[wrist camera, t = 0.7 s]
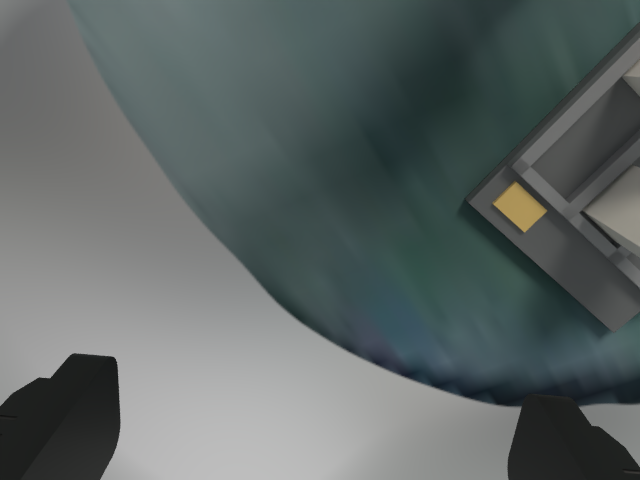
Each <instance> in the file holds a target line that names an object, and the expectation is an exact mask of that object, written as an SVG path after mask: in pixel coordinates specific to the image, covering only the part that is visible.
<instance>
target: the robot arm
mask: <svg viewBox="0 0 640 480" xmlns="http://www.w3.org/2000/svg"><path fill="white" fill-rule="evenodd" d="M119 432H120V404H119V384H118V367H117V362H116V359H115V358H114V357H111V356H99V355H87V354H76V353H74V354H72V355H70V356H69V357H68V358H67V359H66V361H65V362H64V363H63V364H62V365H61V366H60V368H59V369H58V370H57V371H56V372H55V373H54V375H53V376H52V377H51V378H37V379H36V380H34V381H33V382H31V383H29V384H27V385H26V386H24V387H22V388H21V389H19V390H17V391H16V392H14V393H13V394H12V395H10V396H9V398H8V399H7V400H6V401H5V402H4V403H3V404H2V405H1V406H0V480H100V479H101V477H102V475H103V473H104V471H105V469H106V468H107V466H108V464H109V462H110V460H111V458H112V456H113V454H114V451H115V449H116V446H117V442H118V438H119ZM508 478H509V480H640V467H639V466H638V464H637V463H636V462H635V460H634V459H633V458H632V456H631V455H630V454H629V452H628V451H627V450H626V448H625V447H624V446H623V445H621V444H620V443H619V442H618V441H616V440H615V439H614V438H613V437H611V436H610V435H609V434H608V433H606V432H605V431H604V430H603V429H602V428H600V427H597V426H591V424H590V423H589V421H588V420H587V419H586V417H585V416H584V414H583V413H582V411H581V410H580V408H579V407H578V406H577V404H576V403H575V402H574V400H573V399H571V398H569V397H561V396H550V395H538V394H529V395H527V396H526V398H525V399H524V402H523V405H522V408H521V412H520V416H519V419H518V423H517V427H516V431H515V435H514V438H513V442H512V445H511V449H510V453H509V457H508Z"/></svg>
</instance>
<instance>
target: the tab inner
mask: <svg viewBox="0 0 640 480" xmlns="http://www.w3.org/2000/svg"><path fill="white" fill-rule="evenodd" d="M621 77H622V78H623V79H624V80H625V81H626V82H627V83H628V85H629V86H630V87H631V88H632V89H633V90H634V91H635V92H636V93H637V94H638V95H639V96H640V59H639V60H638V61H637V62H636V63H635V64H634V65H633V66H632V67H631V68H630V69H629V70H628V71H626V72H625V73H624V74H623V75H622V76H621Z"/></svg>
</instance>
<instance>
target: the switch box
mask: <svg viewBox="0 0 640 480" xmlns="http://www.w3.org/2000/svg"><path fill="white" fill-rule="evenodd" d="M639 59H640V22H639V23H638V24H637V25H636V26H635V27H634V28H633V29H632V30H631V31H630V32H629V33H628V34H627V35H626V36H625V37H624V38H623V39H622V40H621V41H620V42H619V43H618V44H617V45H616V46H615V47H614V48H613V49H612V50H611V51H610V52H609V53H608V54H607V55H606V56H605V57H604V58H603V59H602V60H601V61H600V62H599V63H598V64H597V65H596V66H595V67H594V68H593V70H592V71H591V72H590V73H589V74H588V75H587V76H586V77H585V78H584V79H583V80H582V81H581V82H580V83H579V84H578V85H577V86H576V87H575V88H574V89H573V90H572V91H571V92H570V93H569V94H568V95H567V96H566V97H565V98H564V99H563V100H562V101H561V102H560V103H559V104H558V105H557V106H556V107H555V108H554V109H553V110H552V111H551V112H550V113H549V114H548V115H547V116H546V117H545V118H544V119H543V120H542V121H541V122H540V123H539V124H538V125H537V126H536V127H535V128H534V129H533V130H532V131H531V132H530V133H529V134H528V135H527V136H526V137H525V138H524V139H523V140H522V141H521V142H520V143H519V144H518V145H517V146H516V147H515V148H514V149H513V150H512V151H511V152H510V153H509V154H508V155H507V156H506V157H505V158H504V159H503V160H502V162H501V163H500V164H499V165H498V166H497V167H496V168H495V169H494V170H493V171H492V172H491V173H490V174H489V175H488V176H487V177H486V178H485V179H484V180H483V181H482V182H481V183H480V184H479V185H478V186H477V187H476V188H475V189H474V190H473V191H472V192H471V193H470V194H469V195H468V196H467V197H466V198H465V199H466V201H467V202H468V203H469V204H470V205H472V206H473V207H474V208H475V209H476V210H477V211H478V212H479V213H480V214H482V215H483V216H484V217H485V218H486V219H487V220H488V221H489V222H491V223H492V224H493V225H494V226H495V227H496V228H497V229H498V230H499V231H501V232H502V233H503V234H504V235H505V236H506V237H507V238H508V239H509V240H511V241H512V242H513V243H514V244H515V245H516V246H517V247H518V248H520V249H521V250H522V251H523V252H524V253H525V254H526V255H527V256H528V257H530V258H531V259H532V260H533V261H534V262H535V263H536V264H537V265H539V266H540V267H541V268H542V269H543V270H544V271H545V272H546V273H547V274H549V275H550V276H551V277H552V278H553V279H554V280H555V281H556V282H557V283H559V284H560V285H561V286H562V287H563V288H564V289H565V290H566V291H568V292H569V293H570V294H571V295H572V296H573V297H574V298H575V299H576V300H578V301H579V302H580V303H581V304H582V305H583V306H584V307H585V308H587V309H588V310H589V311H590V312H591V313H592V314H593V315H594V316H595V317H597V318H598V319H599V320H600V321H601V322H602V323H603V324H604V325H605V326H607V327H608V328H609V329H610V330H611V331H612V332H613V333H614V332H616V331H617V330H618V329H619V328H620V327H622V326H623V325H624V324H625V323H627V322H628V321H629V320H630V319H631V318H633V317H634V316H635V315H636V314H638V313H639V312H640V258H639V257H638V256H636V255H635V254H633V253H632V252H630V251H629V250H628V249H626V248H625V247H623V246H622V245H620V244H619V243H617V242H616V241H614V240H613V239H611V238H610V237H609V236H608V235H607V234H606V233H605V232H604V231H603V230H602V229H601V228H600V227H599V226H598V225H597V224H596V223H595V222H594V221H592V220H591V219H590V218H589V217H588V216H587V215H586V214H585V213H584V212H583V211H582V209H583V208H584V207H585V206H587V205H588V204H589V203H590V202H591V201H592V200H593V199H594V198H595V197H596V196H597V195H598V194H600V193H601V192H602V191H603V190H604V189H605V188H606V187H607V186H608V185H609V184H610V183H611V182H612V181H614V180H615V179H616V178H617V177H618V176H619V175H620V174H621V173H622V172H623V171H624V170H625V169H627V168H628V167H629V166H630V165H631V164H632V165H634V166H637V167H640V96H639V95H638V94H637V93H636V92H635V91H634V90H633V89H632V88H631V87H630V86H629V85H628V83H627V82H626V81H625V80H624V79H623V78H622V77H621V76H622V75H623V74H624V73H625V72H626V71H628V70H629V69H630V68H631V67H632V66H633V65H634V64H635V63H636V62H637V61H638V60H639Z"/></svg>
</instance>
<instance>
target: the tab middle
mask: <svg viewBox="0 0 640 480" xmlns="http://www.w3.org/2000/svg"><path fill="white" fill-rule="evenodd" d="M582 211H583V212H584V213H585V214H586V215H587V216H588V217H589V218H590V219H591V220H592V221H594V222H595V223H596V224H597V225H598V226H599V227H600V228H601V229H602V230H603V231H604V232H605V233H606V234H607V235H608V236H609V237H610V238H611V239H613V240H614V241H616V242H617V243H619V244H620V245H622V246H623V247H625V248H626V249H628V250H629V251H630V252H632V253H633V254H635V255H636V256H638V257H639V258H640V167H637V166H634V165H632V164H631V165H630V166H629V167H628V168H627V169H625V170H624V171H623V172H622V173H621V174H620V175H619V176H618V177H617V178H616V179H615V180H614V181H612V182H611V183H610V184H609V185H608V186H607V187H606V188H605V189H604V190H603V191H602V192H601V193H600V194H598V195H597V196H596V197H595V198H594V199H593V200H592V201H591V202H590V203H589V204H588V205H587V206H585V207H584V208H583V209H582Z"/></svg>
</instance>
